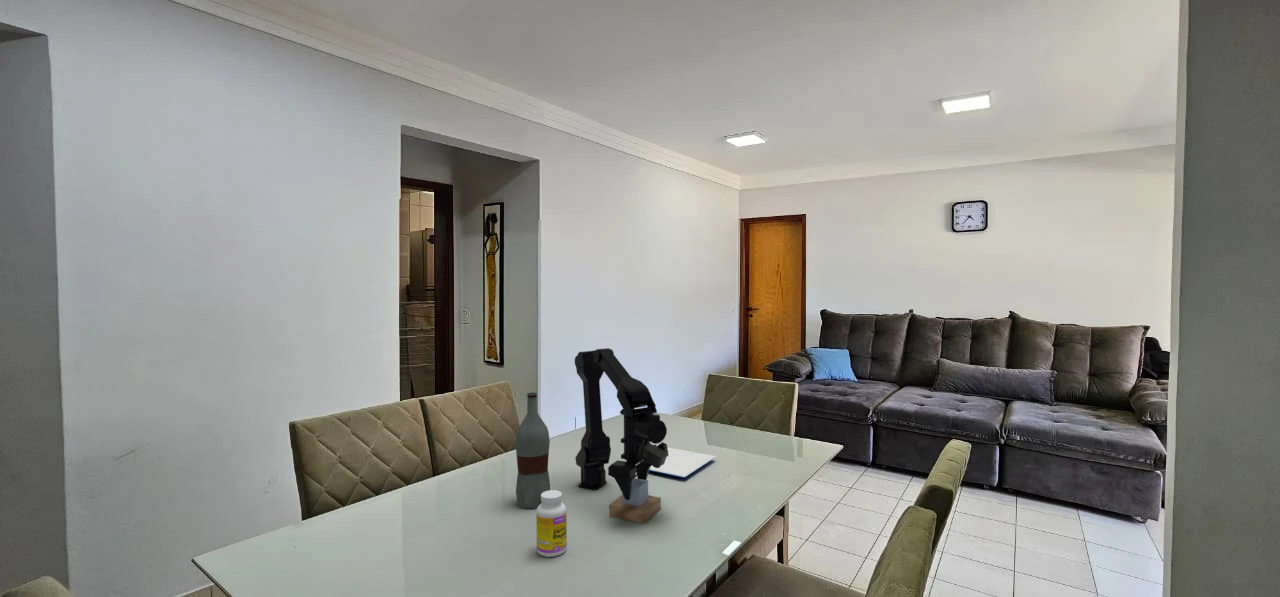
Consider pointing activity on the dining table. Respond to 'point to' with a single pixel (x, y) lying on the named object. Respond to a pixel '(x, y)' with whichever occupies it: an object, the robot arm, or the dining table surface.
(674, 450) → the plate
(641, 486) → the cube
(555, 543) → the supplement bottle
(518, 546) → the dining table surface
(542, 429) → the grey bottle
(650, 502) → the base
